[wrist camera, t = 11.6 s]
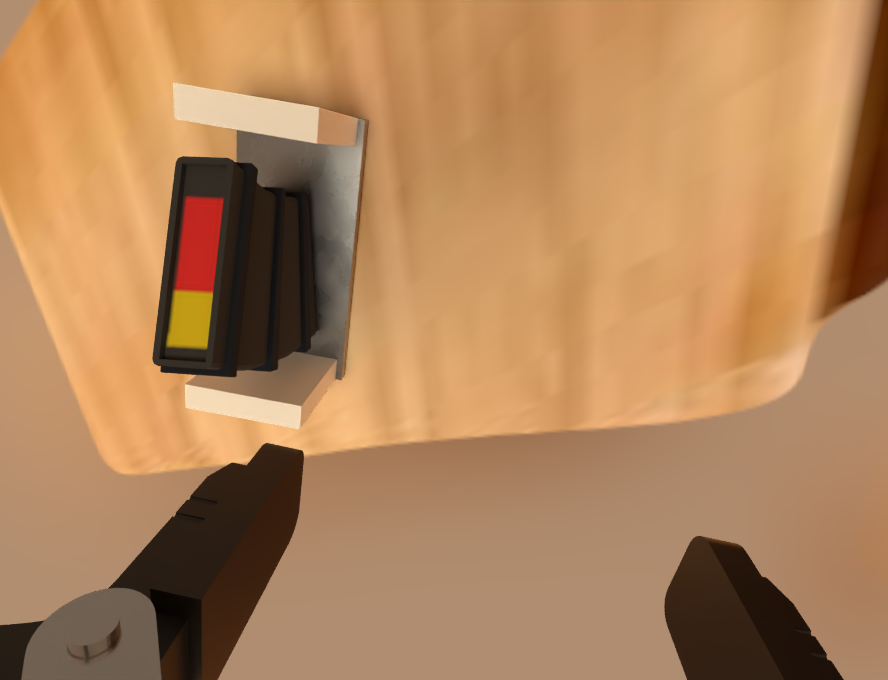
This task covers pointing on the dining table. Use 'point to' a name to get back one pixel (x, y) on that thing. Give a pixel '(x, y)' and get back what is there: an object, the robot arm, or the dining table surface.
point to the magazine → (233, 272)
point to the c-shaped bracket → (299, 374)
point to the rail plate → (320, 220)
